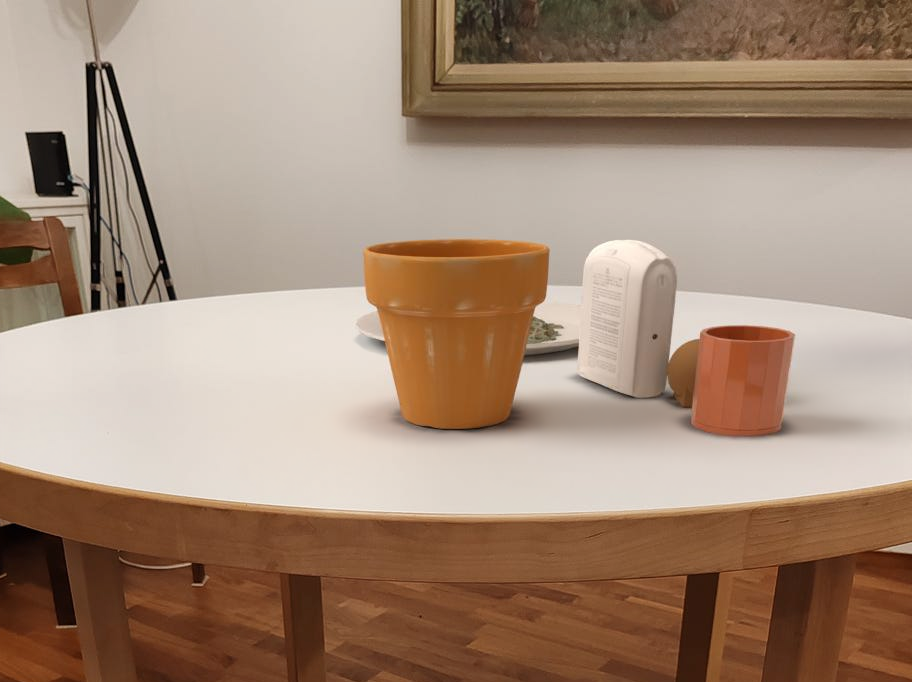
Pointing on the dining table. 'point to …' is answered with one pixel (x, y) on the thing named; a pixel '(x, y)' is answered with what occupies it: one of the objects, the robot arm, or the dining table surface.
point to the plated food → (548, 331)
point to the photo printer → (627, 317)
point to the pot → (742, 379)
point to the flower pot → (456, 323)
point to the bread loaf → (683, 372)
